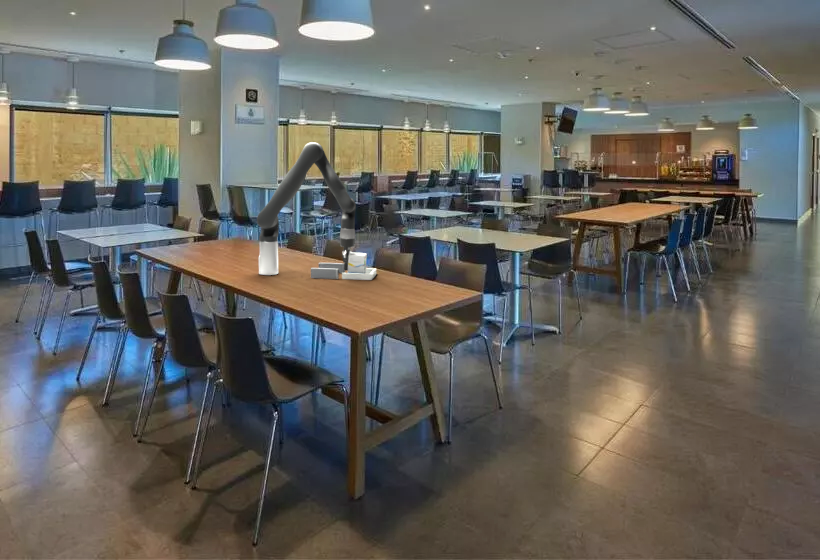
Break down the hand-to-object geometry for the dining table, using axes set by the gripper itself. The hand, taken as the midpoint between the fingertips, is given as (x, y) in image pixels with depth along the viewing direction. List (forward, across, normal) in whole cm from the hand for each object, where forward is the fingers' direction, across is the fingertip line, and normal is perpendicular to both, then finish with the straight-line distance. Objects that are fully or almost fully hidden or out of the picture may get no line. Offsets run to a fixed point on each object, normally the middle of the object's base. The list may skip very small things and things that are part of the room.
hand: (346, 270), depth 313 cm
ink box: (+3, 0, +5) cm, 6 cm away
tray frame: (+3, 0, +6) cm, 7 cm away
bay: (+3, 0, -10) cm, 10 cm away
